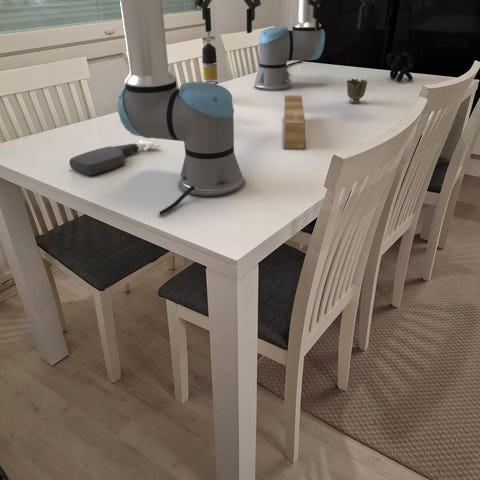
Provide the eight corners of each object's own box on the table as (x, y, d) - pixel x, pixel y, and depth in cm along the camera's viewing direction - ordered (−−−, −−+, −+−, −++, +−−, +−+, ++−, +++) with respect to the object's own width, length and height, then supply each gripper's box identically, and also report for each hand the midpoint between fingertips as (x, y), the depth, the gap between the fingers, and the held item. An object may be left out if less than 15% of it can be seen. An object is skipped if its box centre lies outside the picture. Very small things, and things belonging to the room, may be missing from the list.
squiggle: (400, 92, 202) (376, 71, 205) (417, 76, 202) (392, 56, 205) (405, 81, 191) (380, 59, 194) (423, 64, 191) (397, 42, 194)
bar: (303, 149, 130) (305, 122, 125) (284, 148, 130) (285, 122, 126) (300, 118, 155) (301, 95, 151) (283, 118, 155) (284, 95, 151)
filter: (220, 99, 177) (217, 15, 161) (206, 100, 176) (202, 16, 160) (215, 96, 182) (212, 14, 166) (202, 97, 180) (197, 14, 164)
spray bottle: (67, 168, 120) (139, 144, 136) (91, 178, 114) (163, 151, 130) (65, 157, 118) (137, 134, 134) (89, 167, 112) (162, 142, 128)
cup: (342, 103, 169) (344, 81, 165) (347, 99, 174) (350, 77, 170) (361, 106, 166) (364, 83, 162) (366, 101, 171) (369, 79, 167)
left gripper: (272, -51, 127) (270, 31, 138) (192, -48, 134) (197, 29, 145) (264, -51, 121) (263, 34, 132) (181, -49, 128) (187, 32, 139)
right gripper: (305, -52, 124) (300, 32, 135) (393, -53, 125) (381, 30, 136) (300, -51, 130) (296, 29, 141) (383, -53, 131) (373, 27, 142)
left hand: (228, 32), depth 139 cm, fingers open, 13 cm apart
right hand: (338, 29), depth 139 cm, fingers open, 13 cm apart
